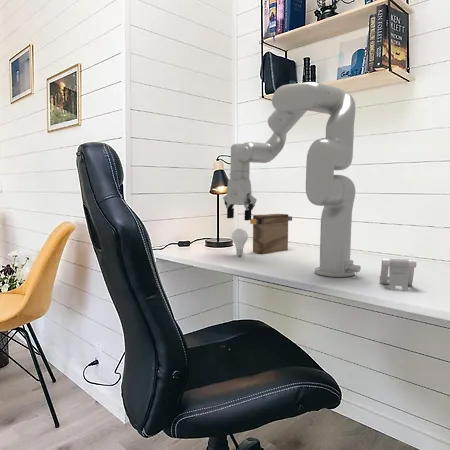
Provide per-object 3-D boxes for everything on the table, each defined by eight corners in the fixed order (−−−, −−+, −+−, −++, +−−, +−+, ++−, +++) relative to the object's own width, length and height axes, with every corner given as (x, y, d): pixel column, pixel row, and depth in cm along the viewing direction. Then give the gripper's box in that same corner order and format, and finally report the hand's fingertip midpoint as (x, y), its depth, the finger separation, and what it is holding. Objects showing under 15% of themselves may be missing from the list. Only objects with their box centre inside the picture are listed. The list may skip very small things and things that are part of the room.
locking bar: (292, 220, 191) (292, 216, 191) (254, 224, 174) (254, 219, 174) (287, 220, 193) (287, 216, 192) (250, 223, 176) (250, 219, 176)
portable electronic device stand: (411, 285, 123) (412, 256, 122) (415, 291, 116) (417, 261, 115) (379, 283, 125) (380, 255, 125) (382, 289, 118) (383, 259, 117)
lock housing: (287, 249, 187) (288, 214, 186) (263, 254, 176) (263, 216, 175) (277, 248, 192) (277, 213, 190) (252, 252, 181) (253, 215, 179)
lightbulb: (228, 255, 172) (228, 228, 170) (240, 254, 175) (240, 227, 174) (238, 258, 166) (238, 230, 165) (250, 256, 170) (251, 228, 169)
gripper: (217, 175, 172) (217, 217, 174) (249, 175, 159) (248, 221, 161) (231, 175, 177) (230, 217, 179) (262, 176, 164) (261, 220, 166)
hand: (238, 219), depth 170 cm, fingers open, 9 cm apart
